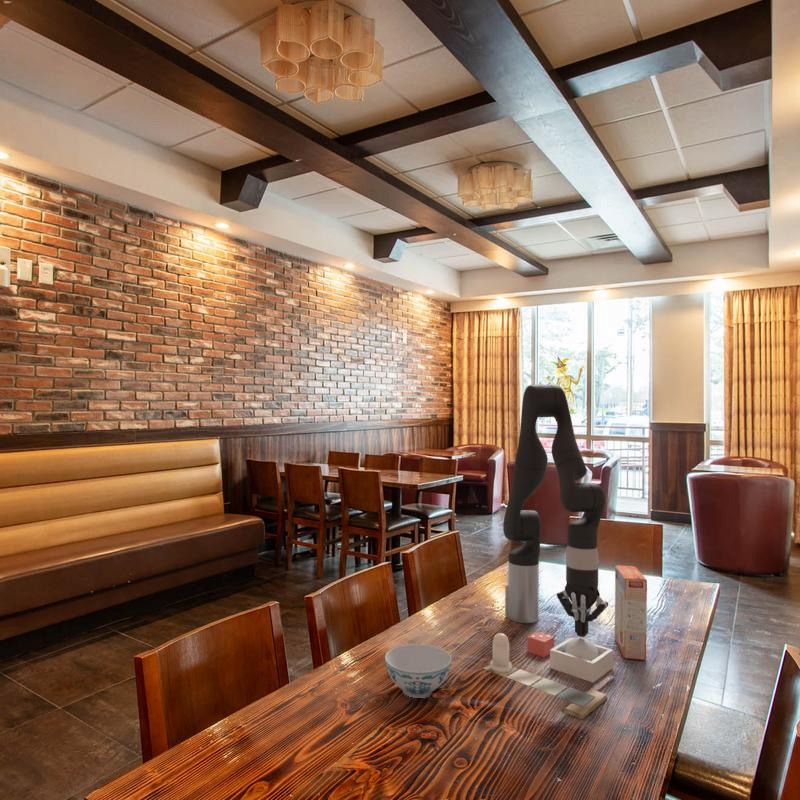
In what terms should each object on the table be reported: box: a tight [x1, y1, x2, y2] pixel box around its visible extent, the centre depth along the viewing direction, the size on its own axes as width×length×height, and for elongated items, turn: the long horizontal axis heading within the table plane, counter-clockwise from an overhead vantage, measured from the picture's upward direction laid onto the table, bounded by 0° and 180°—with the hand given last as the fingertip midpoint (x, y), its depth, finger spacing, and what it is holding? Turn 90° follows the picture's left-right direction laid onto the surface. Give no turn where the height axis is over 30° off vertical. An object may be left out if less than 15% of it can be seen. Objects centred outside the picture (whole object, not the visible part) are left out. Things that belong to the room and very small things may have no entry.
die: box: [526, 631, 555, 658], centre depth 149 cm, size 5×5×5 cm
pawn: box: [489, 632, 513, 674], centre depth 139 cm, size 5×5×8 cm
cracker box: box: [614, 565, 648, 661], centre depth 154 cm, size 14×6×21 cm, turn 168°
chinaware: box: [384, 643, 452, 699], centre depth 129 cm, size 15×15×8 cm
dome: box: [565, 636, 599, 661], centre depth 140 cm, size 8×8×8 cm
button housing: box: [549, 637, 614, 688], centre depth 140 cm, size 11×11×6 cm
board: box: [483, 664, 608, 720], centre depth 132 cm, size 28×12×1 cm, turn 47°
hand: (581, 635), depth 140 cm, fingers closed
